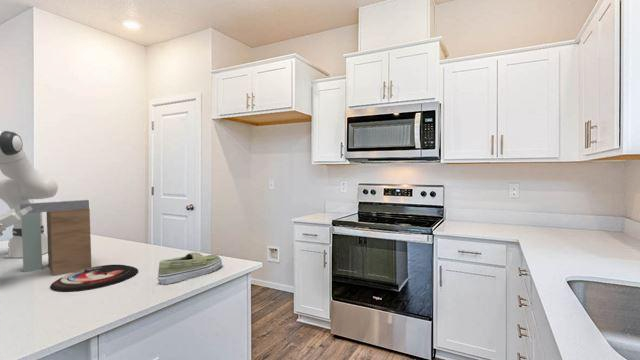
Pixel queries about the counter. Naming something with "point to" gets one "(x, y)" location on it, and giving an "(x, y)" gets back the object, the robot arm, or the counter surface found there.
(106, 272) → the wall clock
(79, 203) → the bar
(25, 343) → the counter surface
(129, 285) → the counter surface
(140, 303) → the counter surface
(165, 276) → the boat shoe
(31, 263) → the socket post
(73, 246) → the brown wooden block
